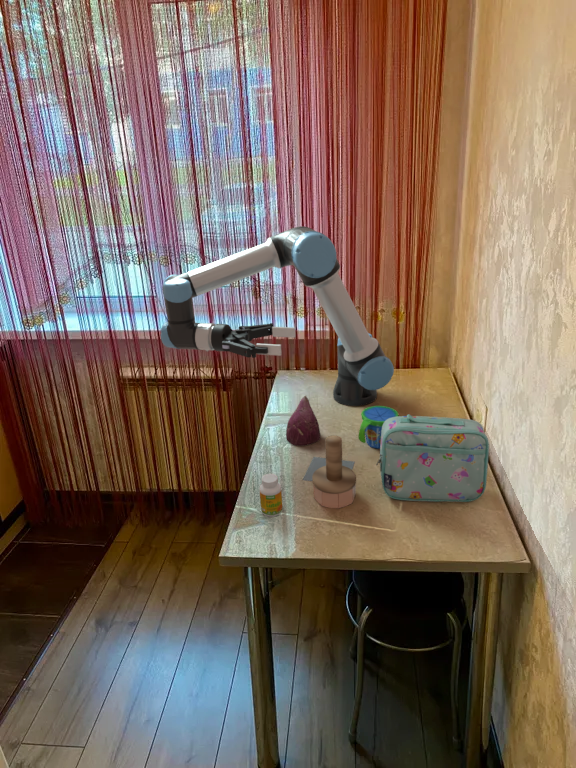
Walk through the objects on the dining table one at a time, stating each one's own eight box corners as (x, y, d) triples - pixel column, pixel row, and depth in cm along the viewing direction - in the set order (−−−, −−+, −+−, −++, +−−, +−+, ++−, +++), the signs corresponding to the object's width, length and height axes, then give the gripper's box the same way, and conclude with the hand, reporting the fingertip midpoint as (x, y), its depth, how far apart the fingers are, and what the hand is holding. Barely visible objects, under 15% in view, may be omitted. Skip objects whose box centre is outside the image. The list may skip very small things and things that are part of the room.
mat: (313, 457, 160) (313, 456, 160) (354, 462, 157) (354, 461, 157) (302, 481, 150) (302, 479, 150) (346, 487, 147) (346, 485, 146)
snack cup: (386, 428, 174) (387, 399, 170) (410, 442, 166) (412, 412, 161) (347, 444, 166) (347, 414, 162) (370, 459, 158) (371, 428, 154)
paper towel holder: (318, 466, 147) (317, 426, 142) (359, 471, 144) (360, 431, 139) (307, 490, 138) (306, 448, 133) (351, 496, 134) (351, 453, 129)
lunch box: (375, 502, 140) (377, 428, 131) (375, 479, 149) (376, 408, 140) (485, 507, 136) (495, 431, 127) (478, 483, 145) (486, 410, 137)
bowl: (320, 483, 149) (320, 467, 146) (357, 488, 146) (357, 472, 144) (310, 506, 140) (310, 489, 138) (350, 511, 137) (350, 495, 135)
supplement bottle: (265, 519, 136) (263, 486, 132) (258, 507, 140) (255, 475, 136) (286, 513, 138) (284, 480, 134) (277, 501, 142) (275, 469, 138)
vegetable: (299, 437, 178) (298, 391, 176) (326, 442, 172) (326, 394, 170) (278, 444, 170) (278, 395, 167) (306, 449, 163) (306, 398, 161)
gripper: (232, 334, 168) (300, 338, 162) (197, 366, 146) (275, 372, 140) (230, 310, 164) (299, 313, 159) (194, 339, 143) (273, 344, 137)
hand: (288, 341), depth 149 cm, fingers open, 13 cm apart
